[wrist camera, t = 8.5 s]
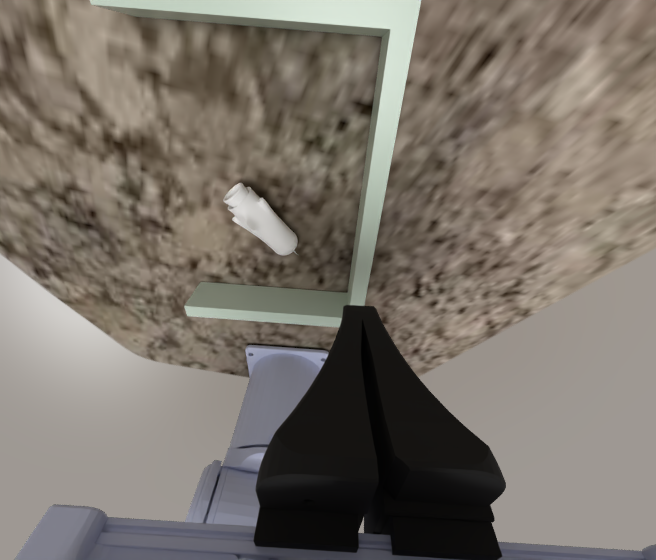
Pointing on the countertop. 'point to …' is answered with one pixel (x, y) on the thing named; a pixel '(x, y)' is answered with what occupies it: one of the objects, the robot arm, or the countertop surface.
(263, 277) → the countertop surface
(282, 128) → the countertop surface
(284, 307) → the light green u-shaped bracket
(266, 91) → the countertop surface
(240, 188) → the small white plastic part
